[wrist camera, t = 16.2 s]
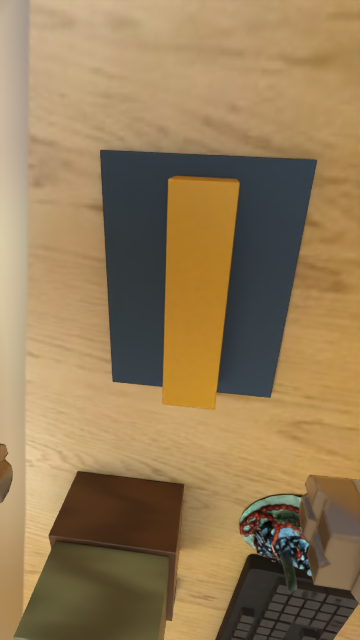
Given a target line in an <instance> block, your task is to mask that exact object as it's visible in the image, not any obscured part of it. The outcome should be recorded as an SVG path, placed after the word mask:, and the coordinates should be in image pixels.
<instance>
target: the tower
mask: <svg viewBox="0 0 360 640" xmlns="http://www.w3.org/2000/svg"><path fill="white" fill-rule="evenodd" d="M183 491H184V485H181V484H173V483H165V482H157V481H149V480H141V479H133V478H125V477H117V476H109V475H101V474H93V473H85V472H77V474H76V476H75V479H74V481H73V483H72V485H71V487H70V489H69V492H68V494H67V496H66V498H65V500H64V503H63V505H62V507H61V509H60V511H59V514H58V516H57V518H56V520H55V522H54V524H53V527H52V529H51V531H50V533H49V540H50V545H51V552H50V554H49V556H48V559H47V561H46V563H45V566H44V568H43V570H42V573H41V575H40V577H39V579H38V582H37V584H36V586H35V589H34V591H33V593H32V596H31V598H30V600H29V603H28V605H27V607H26V610H25V612H24V614H23V616H22V619H21V621H20V624H19V626H18V628H17V631H16V633H15V635H14V640H164V634H165V626H166V620H168V621H172V616H173V607H174V598H175V588H176V579H177V569H178V560H179V550H180V535H181V521H182V506H183Z"/></svg>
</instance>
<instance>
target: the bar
mask: <svg viewBox="0 0 360 640" xmlns="http://www.w3.org/2000/svg"><path fill="white" fill-rule="evenodd" d="M239 186H240V183H239V181H238V180H237V179H230V178H211V177H192V176H174V177H172V178H169V179H168V205H167V244H166V283H165V322H164V361H163V400H162V404H166V405H175V406H185V407H194V408H204V409H213V410H214V409H215V402H216V393H217V384H218V375H219V366H220V357H221V348H222V339H223V330H224V321H225V312H226V303H227V294H228V285H229V276H230V267H231V258H232V249H233V240H234V231H235V222H236V213H237V204H238V195H239Z"/></svg>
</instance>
